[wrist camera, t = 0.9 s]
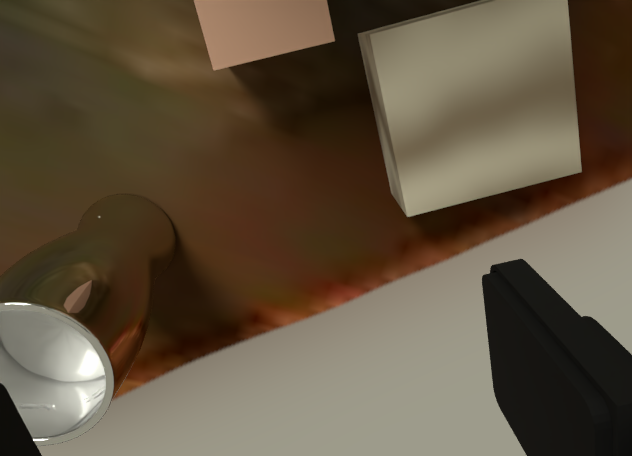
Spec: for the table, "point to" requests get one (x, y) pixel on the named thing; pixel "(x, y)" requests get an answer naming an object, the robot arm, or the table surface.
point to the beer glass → (81, 315)
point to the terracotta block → (261, 28)
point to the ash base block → (474, 101)
